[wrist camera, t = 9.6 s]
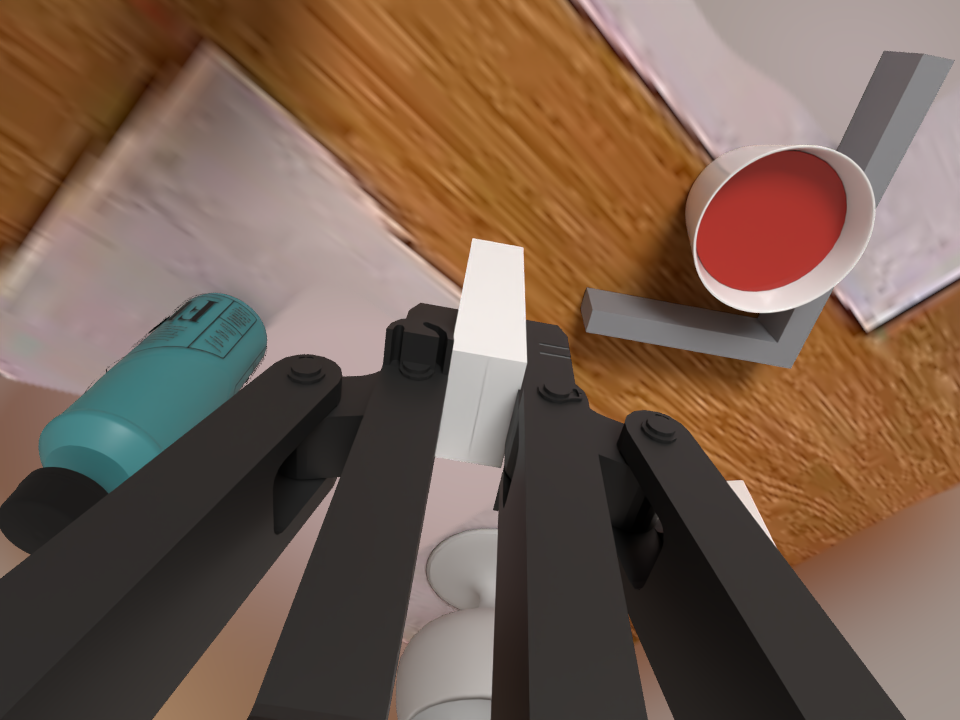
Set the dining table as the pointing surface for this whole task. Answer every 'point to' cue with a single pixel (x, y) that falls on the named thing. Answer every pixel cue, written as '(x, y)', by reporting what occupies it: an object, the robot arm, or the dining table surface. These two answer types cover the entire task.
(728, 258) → the candle
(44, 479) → the beverage bottle
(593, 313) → the corner fence
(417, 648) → the chalice
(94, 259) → the dining table surface
